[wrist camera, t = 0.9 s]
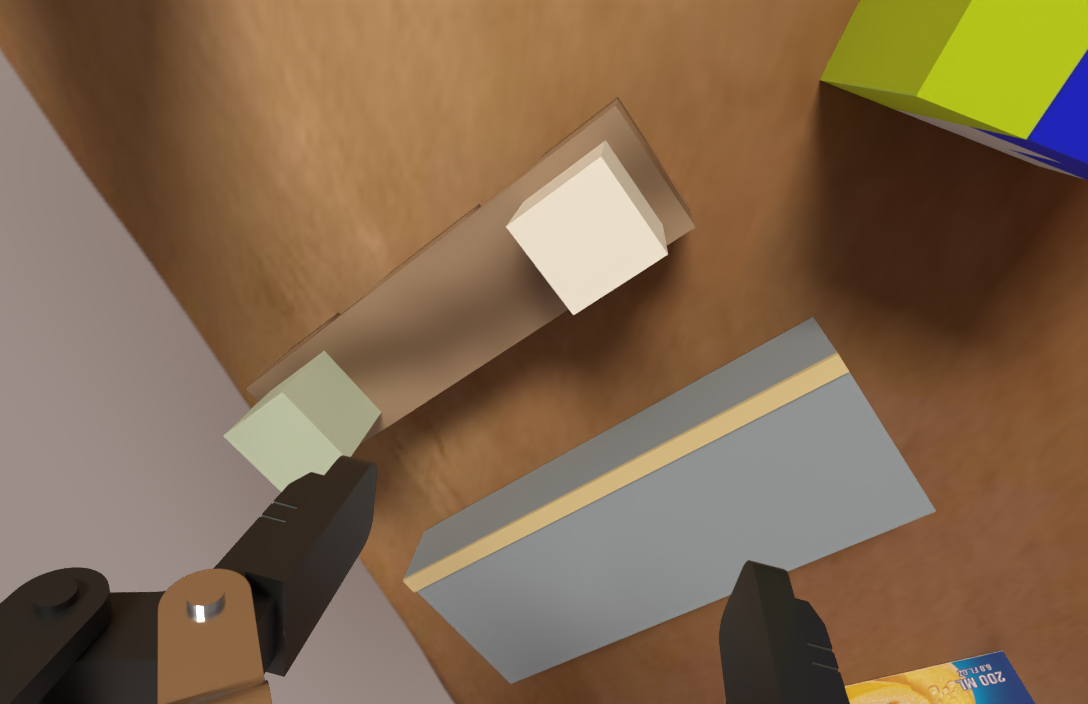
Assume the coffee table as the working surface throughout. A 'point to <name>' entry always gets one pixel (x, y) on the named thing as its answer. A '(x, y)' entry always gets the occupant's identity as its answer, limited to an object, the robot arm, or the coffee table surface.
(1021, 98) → the puzzle toy
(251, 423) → the block
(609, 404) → the coffee table surface
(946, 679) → the beverage box
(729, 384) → the slate dock
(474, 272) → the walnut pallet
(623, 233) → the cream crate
